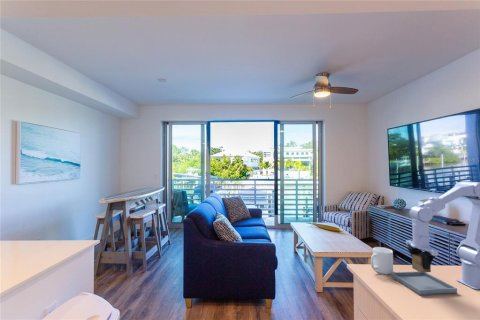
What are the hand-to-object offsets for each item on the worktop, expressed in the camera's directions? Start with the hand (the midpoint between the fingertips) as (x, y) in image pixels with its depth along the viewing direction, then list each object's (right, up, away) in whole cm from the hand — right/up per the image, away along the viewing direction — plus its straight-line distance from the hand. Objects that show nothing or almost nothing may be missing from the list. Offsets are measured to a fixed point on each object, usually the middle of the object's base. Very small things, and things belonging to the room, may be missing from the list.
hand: (421, 266), depth 105 cm
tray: (0, -8, 0) cm, 8 cm away
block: (0, -1, 0) cm, 1 cm away
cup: (-10, -8, +13) cm, 18 cm away
